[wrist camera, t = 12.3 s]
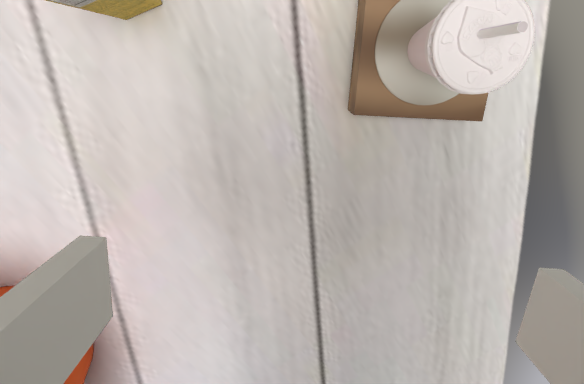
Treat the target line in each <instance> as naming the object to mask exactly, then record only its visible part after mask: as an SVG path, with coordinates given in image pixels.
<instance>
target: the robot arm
mask: <svg viewBox="0 0 584 384" xmlns="http://www.w3.org/2000/svg"><path fill="white" fill-rule="evenodd" d="M112 317H113V311H112V299H111V287H110V276H109V264H108V252H107V240H106V237H92V236H79V237H78V238H76V239H75V240H74V241H73V242H71V243H70V244H69V245H67V246H66V247H65V248H63V249H62V250H61V251H60V252H58V253H57V254H56V255H54V256H53V257H52V258H50V259H49V260H48V261H47V262H45V263H44V264H43V265H41V266H40V267H39V268H38V269H36V270H35V271H34V272H32V273H31V274H30V275H28V276H27V277H26V278H25V279H23V280H22V281H21V282H19V283H18V284H17V285H15V286H14V287H13V288H12V289H10V290H9V291H8V292H6V293H5V294H4V295H2V296H1V297H0V384H63V383H64V382H65V381H66V379H67V378H68V377H69V375H70V374H71V373H72V371H73V370H74V368H75V367H76V366H77V364H78V363H79V362H80V360H81V359H82V358H83V356H84V355H85V353H86V352H87V351H88V349H89V348H90V347H91V345H92V344H93V343H94V341H95V340H96V338H97V337H98V336H99V334H100V333H101V332H102V330H103V329H104V328H105V326H106V325H107V323H108V322H109V321H110V319H111V318H112ZM516 343H517V344H518V346H519V347H520V348H521V349H522V350H523V351H524V352H525V354H526V355H527V356H528V357H529V358H530V360H531V361H532V362H533V363H534V365H535V366H536V367H537V368H538V369H539V370H540V372H541V373H542V374H543V375H544V376H545V377H546V379H547V380H548V381H549V382H550V384H584V284H583V283H582V282H580V281H579V280H578V279H576V278H575V277H574V276H572V275H571V274H569V273H568V272H567V271H565V270H563V269H551V268H539V270H538V273H537V276H536V279H535V282H534V285H533V288H532V292H531V294H530V298H529V301H528V304H527V307H526V310H525V313H524V316H523V319H522V323H521V326H520V329H519V332H518V335H517V338H516Z"/></svg>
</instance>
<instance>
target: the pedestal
mask: <svg viewBox="0 0 584 384" xmlns="http://www.w3.org/2000/svg"><path fill="white" fill-rule="evenodd" d="M450 1H451V0H359V1H358V12H357V22H356V32H355V42H354V53H353V63H352V73H351V83H350V94H349V104H348V110H349V111H350V112H351V113H352V114H354V115H368V116H387V117H407V118H426V119H446V120H466V121H482V120H483V115H484V110H485V106H486V101H487V97H488V93H484V94H473V95H472V94H460V93H457V92H454V91H451V90H449V89H448V88H446V87H445V86H444V85H442V84H441V83H440V82H439V81H438V80H437V78H435V77H433V76H431V75H429V74H427V73H424V72H422V71H420V70H418V69H416V68H415V67H414V66H413V65H412V64H411V63H410V61H409V58H408V53H407V50H408V44H409V41H410V39H411V38H412V36H413V35H414V34H415V33H416V32H417V31H418V30H419V29H421V28H422V27H423V26H425V25H426V24H427V23H429V22H430V21H431V20H433V19H434V18H436V17H437V16H438V14H439V13H440V12H441V10H442V9H443V7H444V6H445V5H447V4H448V3H449V2H450Z"/></svg>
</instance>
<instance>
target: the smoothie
mask: <svg viewBox="0 0 584 384" xmlns="http://www.w3.org/2000/svg"><path fill="white" fill-rule="evenodd" d="M534 39H535V23H534V18H533V14H532V11H531V9H530V7H529V5H528V4H527V2H526V1H525V0H451V1H450V2H449V3H448V4H447V5H445V6H444V7H443V9H442V10H441V12H440V13H439V14H438V16H437V17H436V18H434V19H433V20H431V21H430V22H429V23H427V24H426V25H425V26H423V27H422V28H421V29H419V30H418V31H417V32H416V33H415V34H414V35H413V36H412V38H411V39H410V41H409V44H408V50H407V53H408V58H409V61H410V63H411V64H412V65H413V66H414V67H415V68H416V69H418V70H420V71H422V72H424V73H427V74H429V75H431V76H433V77H435V78H437V80H438V81H439V82H440V83H441V84H442V85H444V86H445V87H446V88H448V89H449V90H451V91H454V92H457V93H460V94H472V95H473V94H484V93H488V92H492V91H494V90H497V89H499V88H501V87H502V86H504V85H506V84H507V83H509V82H510V81H511V80H512V79H513V78H514V77H515V76H516V75H517V74H518V73H519V72H520V71H521V69H522V68H523V67H524V65H525V64H526V62H527V60H528V58H529V56H530V54H531V51H532V48H533V44H534Z"/></svg>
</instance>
